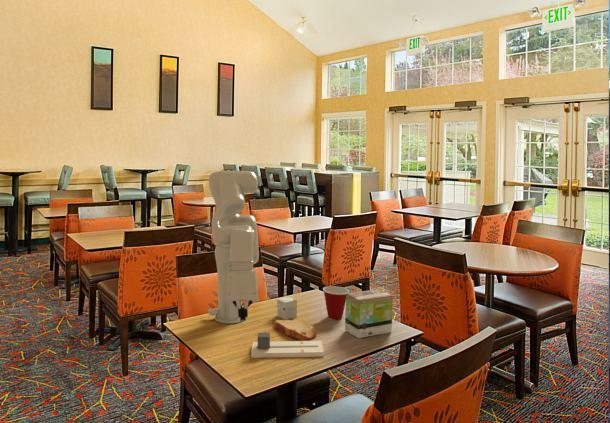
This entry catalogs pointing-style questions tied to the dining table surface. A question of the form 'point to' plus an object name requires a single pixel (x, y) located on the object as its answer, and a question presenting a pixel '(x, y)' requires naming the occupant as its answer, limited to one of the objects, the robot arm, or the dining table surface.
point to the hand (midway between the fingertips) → (243, 319)
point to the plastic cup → (335, 301)
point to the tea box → (368, 313)
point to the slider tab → (263, 340)
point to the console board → (289, 349)
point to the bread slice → (296, 329)
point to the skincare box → (287, 308)
